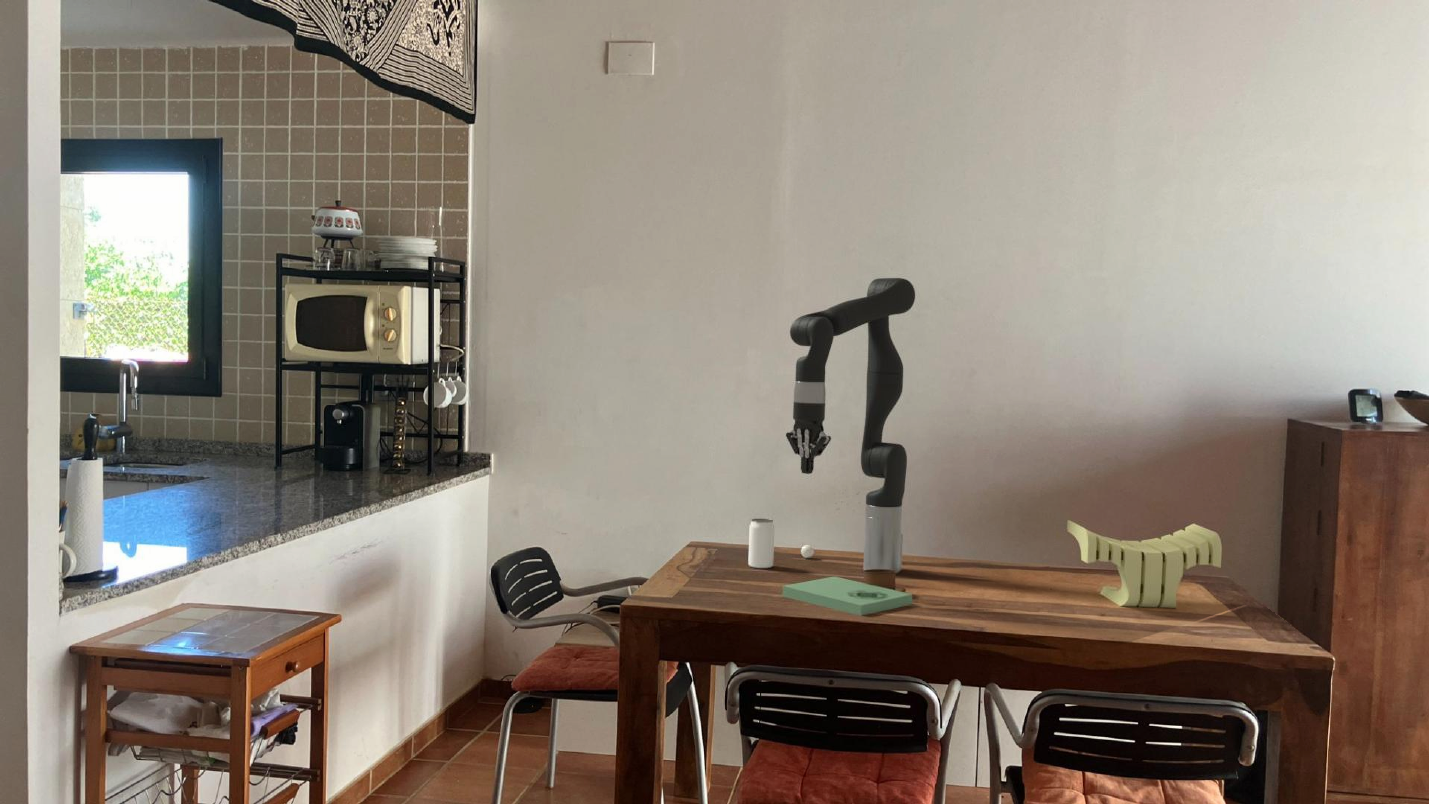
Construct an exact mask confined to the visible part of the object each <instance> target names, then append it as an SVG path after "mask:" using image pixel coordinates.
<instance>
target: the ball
mask: <svg viewBox="0 0 1429 804" xmlns="http://www.w3.org/2000/svg"><path fill="white" fill-rule="evenodd" d="M800 554H801V555H802V557H803V558H806V559H810V558H812V557H813V556H814V554H815V551H814V547H813V546H812V545H811V544H805V545H803V546H802V548H801V549H800Z"/></svg>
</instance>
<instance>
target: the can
mask: <svg viewBox="0 0 1429 804" xmlns="http://www.w3.org/2000/svg"><path fill="white" fill-rule="evenodd" d="M748 529H749V532H748V559H747V560H748V561H747V562H748V563H747V565H748V566H749V567H750V568H754V569H770V568H772V567H773V566H774V552H775V551H774V550H775V524H774V520H773V519H769V518H752V519H751V522H750V523H749V528H748Z"/></svg>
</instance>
